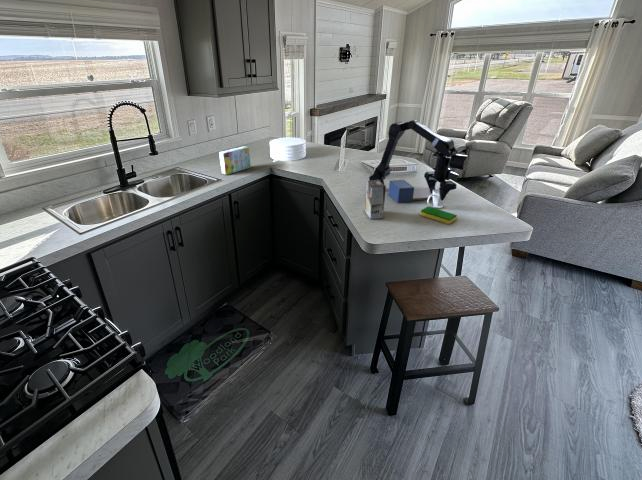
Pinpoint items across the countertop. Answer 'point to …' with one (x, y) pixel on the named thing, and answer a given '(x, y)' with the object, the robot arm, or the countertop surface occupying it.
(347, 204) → the countertop surface
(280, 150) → the plate stack
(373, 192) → the coffee box
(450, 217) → the dish sponge
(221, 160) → the snack box
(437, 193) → the cup
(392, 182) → the navy box
